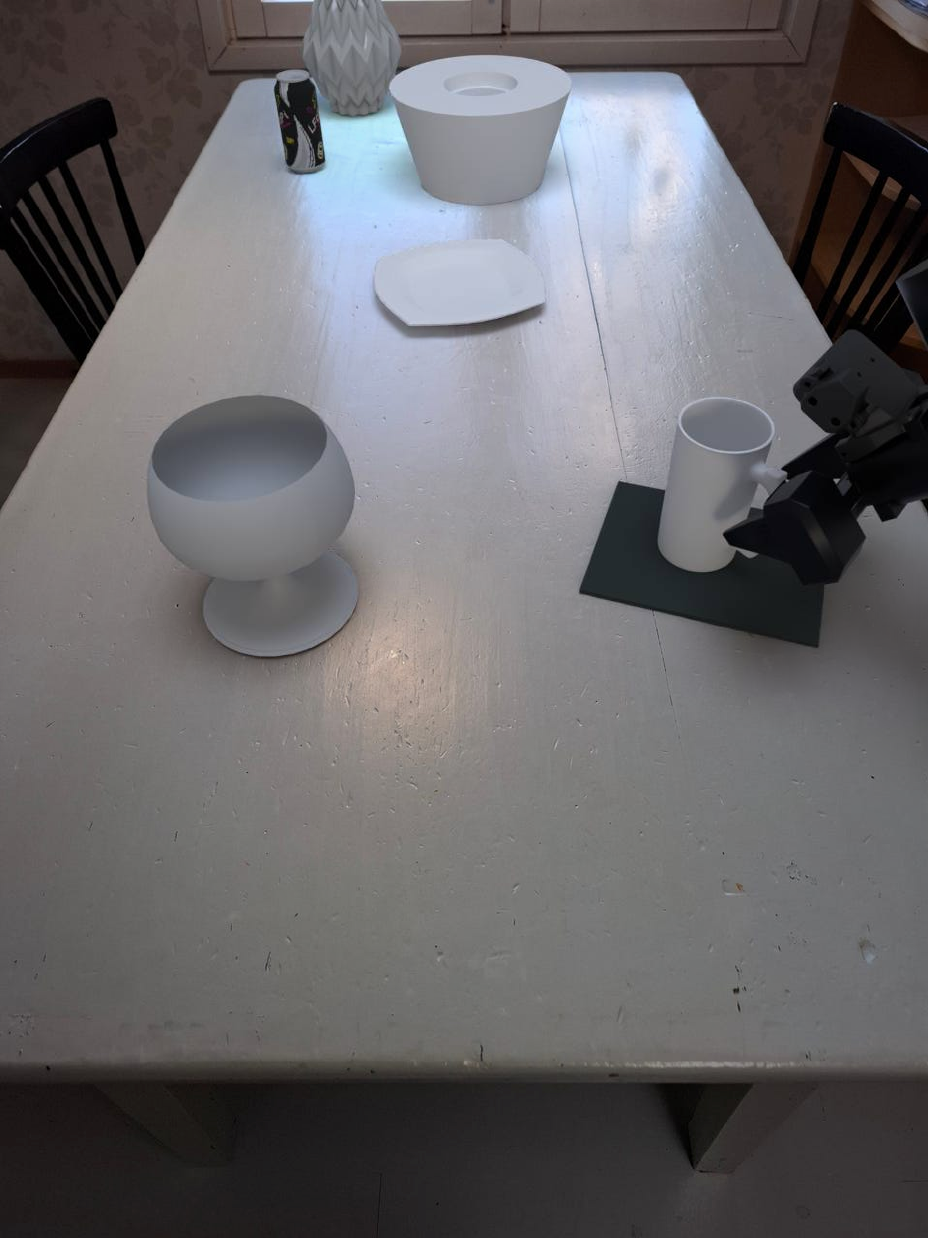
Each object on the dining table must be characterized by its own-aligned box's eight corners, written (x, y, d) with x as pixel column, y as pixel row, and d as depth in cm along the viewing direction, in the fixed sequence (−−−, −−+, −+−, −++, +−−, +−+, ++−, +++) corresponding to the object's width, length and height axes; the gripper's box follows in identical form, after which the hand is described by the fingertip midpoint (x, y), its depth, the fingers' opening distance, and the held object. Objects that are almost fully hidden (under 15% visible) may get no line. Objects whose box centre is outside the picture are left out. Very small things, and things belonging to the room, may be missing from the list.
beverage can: (316, 176, 123) (302, 82, 114) (280, 173, 124) (264, 79, 115) (332, 161, 126) (320, 68, 117) (297, 158, 128) (282, 66, 119)
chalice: (407, 600, 67) (389, 444, 56) (258, 701, 61) (205, 549, 50) (301, 516, 74) (267, 362, 63) (158, 599, 68) (92, 445, 56)
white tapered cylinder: (568, 148, 128) (574, 55, 119) (563, 217, 112) (570, 116, 103) (410, 145, 130) (404, 54, 121) (383, 213, 114) (374, 114, 105)
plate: (566, 321, 95) (567, 304, 93) (396, 350, 91) (395, 334, 90) (511, 245, 107) (511, 230, 105) (360, 269, 104) (358, 253, 102)
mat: (829, 526, 72) (830, 522, 71) (817, 648, 63) (818, 644, 63) (618, 484, 76) (618, 480, 76) (579, 592, 67) (579, 589, 67)
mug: (636, 540, 70) (658, 418, 61) (694, 507, 73) (722, 385, 64) (729, 613, 65) (768, 490, 56) (788, 574, 67) (834, 451, 58)
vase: (411, 121, 137) (402, -21, 123) (308, 129, 135) (288, -13, 122) (402, 88, 147) (393, -46, 134) (307, 95, 146) (288, -39, 132)
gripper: (966, 253, 53) (760, 356, 66) (842, 389, 44) (631, 477, 57) (1041, 406, 55) (828, 475, 68) (940, 566, 46) (715, 611, 59)
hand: (756, 504), depth 63 cm, fingers open, 9 cm apart
